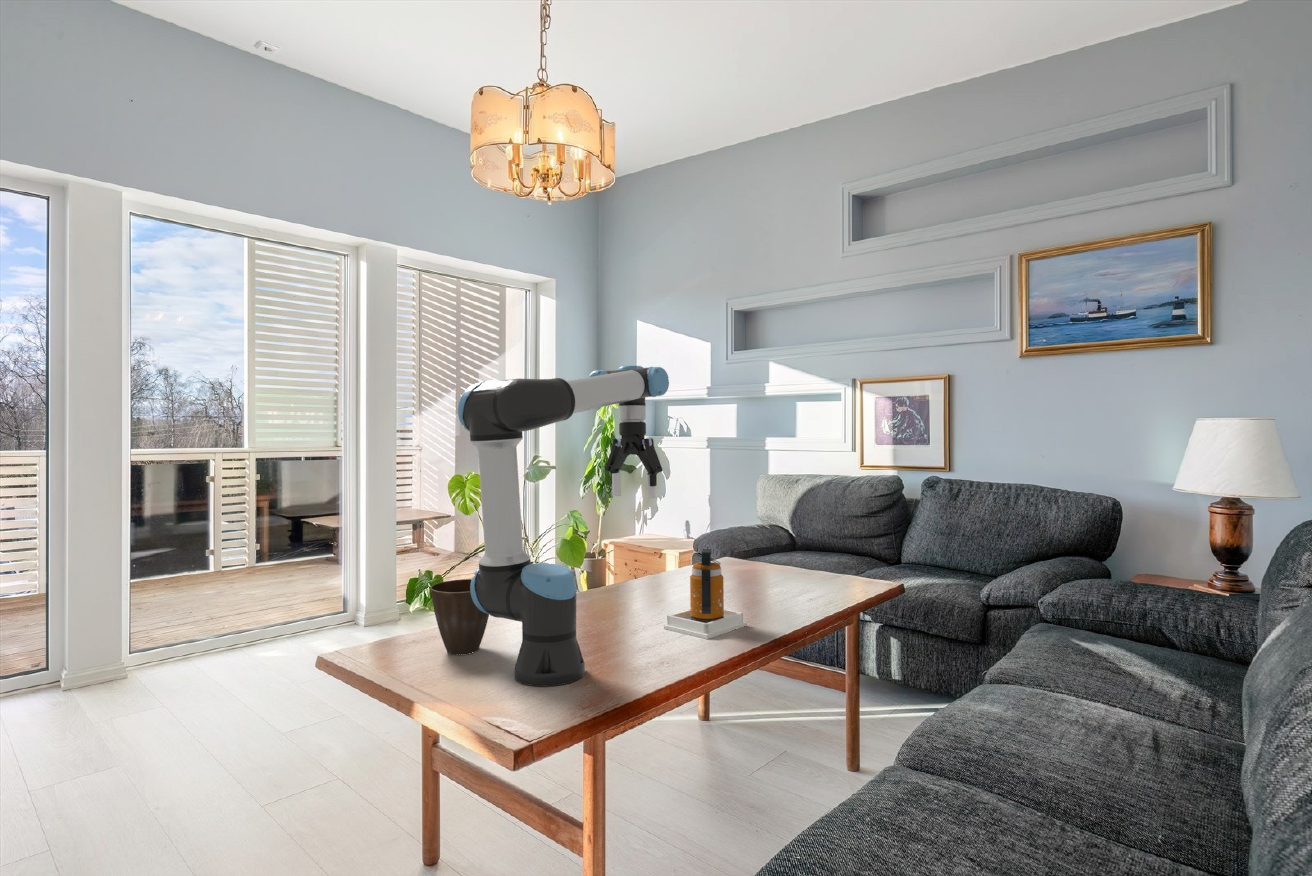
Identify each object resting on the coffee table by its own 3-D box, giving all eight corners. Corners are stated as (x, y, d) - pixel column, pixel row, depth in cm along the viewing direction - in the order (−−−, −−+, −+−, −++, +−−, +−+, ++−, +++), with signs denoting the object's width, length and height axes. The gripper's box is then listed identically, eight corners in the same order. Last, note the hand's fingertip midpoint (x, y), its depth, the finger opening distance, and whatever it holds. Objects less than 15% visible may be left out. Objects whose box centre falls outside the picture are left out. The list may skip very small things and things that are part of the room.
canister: (724, 619, 196) (723, 546, 196) (723, 630, 185) (722, 553, 185) (691, 618, 197) (690, 546, 197) (689, 629, 186) (688, 553, 186)
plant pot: (507, 648, 175) (506, 583, 175) (459, 664, 162) (458, 594, 162) (466, 638, 183) (466, 576, 183) (418, 653, 171) (417, 587, 171)
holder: (707, 639, 180) (706, 625, 180) (663, 628, 190) (663, 615, 190) (746, 625, 192) (746, 612, 192) (704, 616, 203) (703, 604, 203)
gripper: (674, 420, 193) (675, 498, 193) (611, 422, 210) (612, 494, 210) (655, 420, 187) (656, 500, 187) (592, 422, 204) (593, 495, 204)
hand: (633, 497), depth 199 cm, fingers open, 13 cm apart
